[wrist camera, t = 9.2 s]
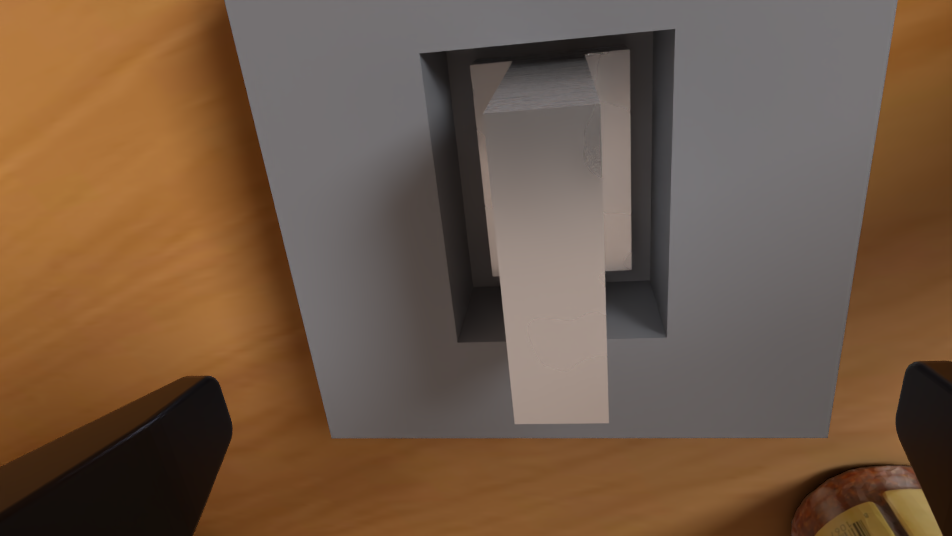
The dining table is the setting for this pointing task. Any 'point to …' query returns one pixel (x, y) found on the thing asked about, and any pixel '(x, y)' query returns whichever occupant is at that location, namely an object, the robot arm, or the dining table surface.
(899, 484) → the sauce bottle
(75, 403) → the dining table surface
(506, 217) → the brushed grey block
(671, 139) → the well block
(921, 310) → the dining table surface
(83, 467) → the robot arm
